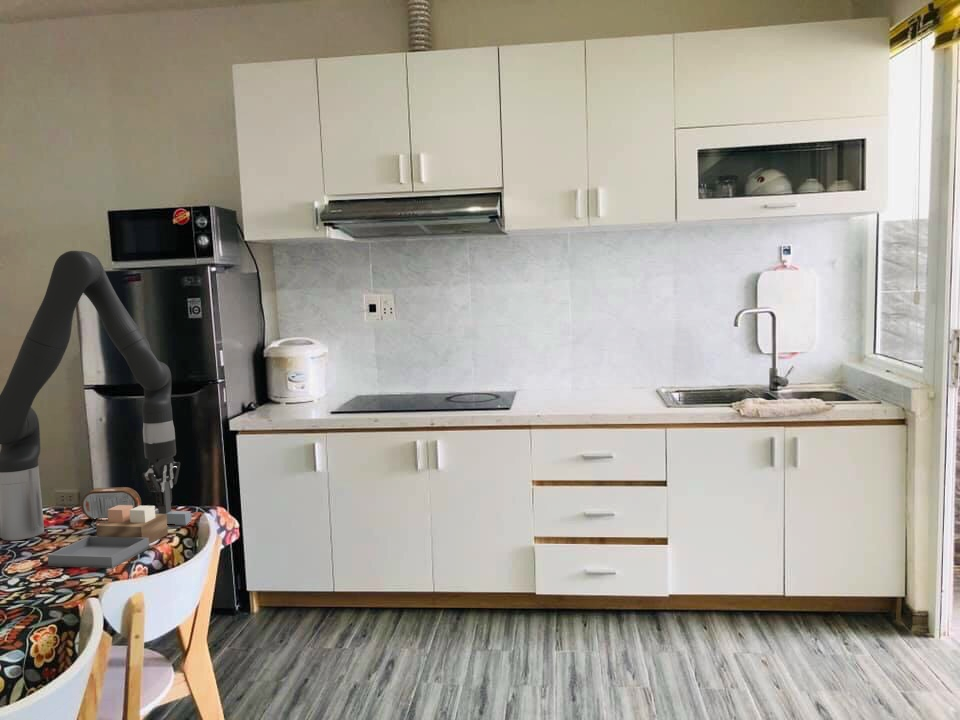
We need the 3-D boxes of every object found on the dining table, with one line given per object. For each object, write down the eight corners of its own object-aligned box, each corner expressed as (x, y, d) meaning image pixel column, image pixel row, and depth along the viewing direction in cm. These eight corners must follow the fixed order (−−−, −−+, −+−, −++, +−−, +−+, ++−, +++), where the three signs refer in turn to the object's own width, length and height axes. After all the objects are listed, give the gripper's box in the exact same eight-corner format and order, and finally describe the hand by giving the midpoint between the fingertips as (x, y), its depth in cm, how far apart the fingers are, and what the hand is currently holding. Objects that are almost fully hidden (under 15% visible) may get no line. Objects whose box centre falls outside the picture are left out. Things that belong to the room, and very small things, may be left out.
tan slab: (97, 546, 178) (96, 525, 177) (125, 532, 187) (123, 513, 187) (142, 547, 175) (141, 526, 175) (168, 533, 185) (166, 514, 185)
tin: (142, 515, 202) (140, 485, 202) (137, 519, 199) (135, 488, 198) (86, 518, 202) (84, 488, 201) (80, 521, 199) (78, 491, 198)
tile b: (130, 522, 179) (129, 510, 179) (140, 517, 183) (139, 505, 183) (145, 522, 178) (144, 510, 178) (155, 517, 182) (154, 505, 182)
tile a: (108, 521, 180) (107, 509, 180) (119, 516, 184) (118, 505, 184) (122, 522, 179) (121, 510, 179) (133, 517, 183) (132, 505, 183)
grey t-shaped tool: (140, 524, 194) (137, 483, 193) (146, 521, 197) (143, 480, 196) (185, 525, 192) (182, 483, 191) (191, 522, 194) (188, 481, 193)
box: (48, 565, 165) (47, 555, 165) (89, 546, 178) (88, 536, 178) (112, 568, 162) (111, 557, 162) (149, 548, 175) (148, 537, 175)
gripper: (162, 433, 200) (167, 496, 201) (129, 444, 186) (134, 511, 188) (187, 433, 198) (192, 497, 200) (156, 444, 185) (161, 512, 186)
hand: (164, 504), depth 194 cm, fingers closed on grey t-shaped tool, 2 cm apart
